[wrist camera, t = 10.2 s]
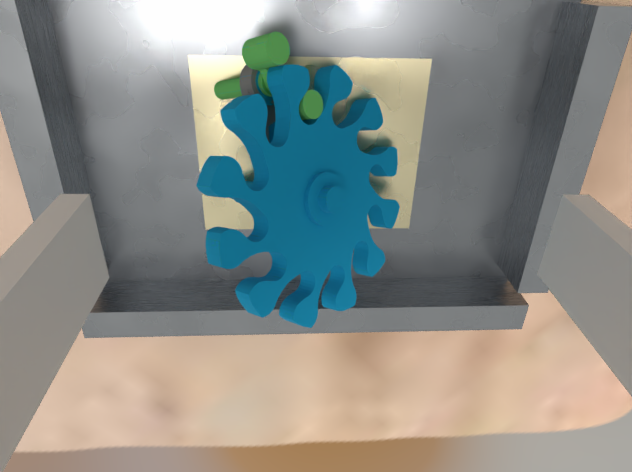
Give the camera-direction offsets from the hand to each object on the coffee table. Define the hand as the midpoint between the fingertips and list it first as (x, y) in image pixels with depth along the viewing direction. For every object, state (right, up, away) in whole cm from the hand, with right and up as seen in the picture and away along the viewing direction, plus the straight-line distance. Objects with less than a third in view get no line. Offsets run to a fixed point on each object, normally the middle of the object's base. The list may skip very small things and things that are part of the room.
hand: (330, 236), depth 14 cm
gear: (-1, +4, +8) cm, 9 cm away
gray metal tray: (-1, +5, +9) cm, 10 cm away
